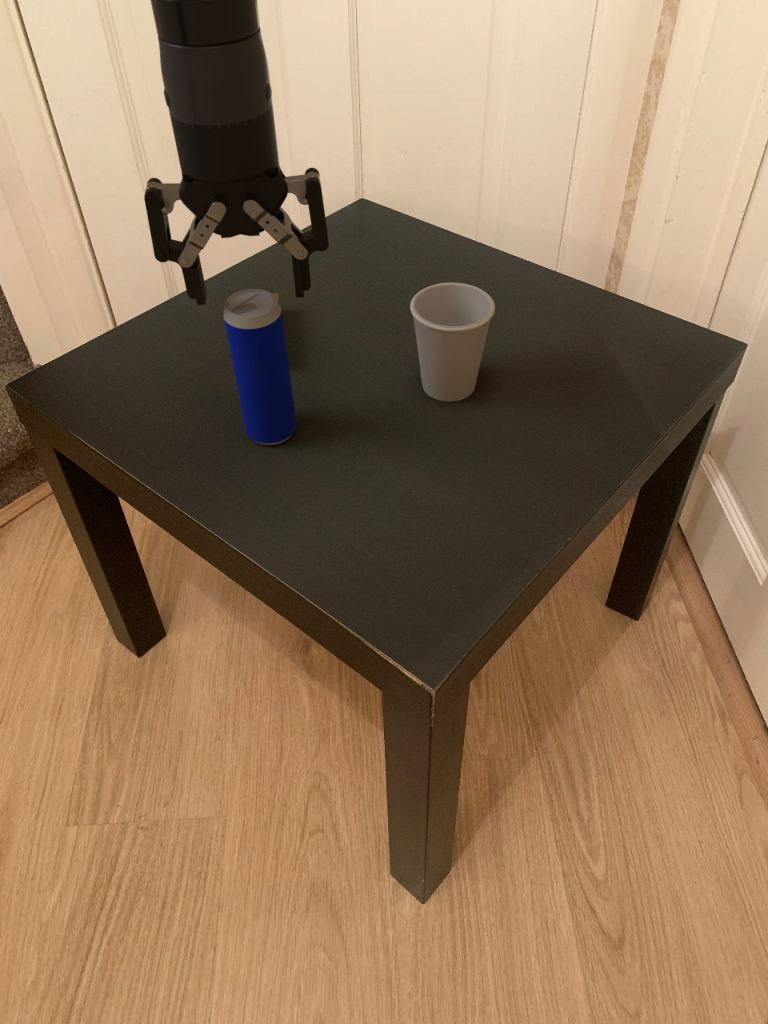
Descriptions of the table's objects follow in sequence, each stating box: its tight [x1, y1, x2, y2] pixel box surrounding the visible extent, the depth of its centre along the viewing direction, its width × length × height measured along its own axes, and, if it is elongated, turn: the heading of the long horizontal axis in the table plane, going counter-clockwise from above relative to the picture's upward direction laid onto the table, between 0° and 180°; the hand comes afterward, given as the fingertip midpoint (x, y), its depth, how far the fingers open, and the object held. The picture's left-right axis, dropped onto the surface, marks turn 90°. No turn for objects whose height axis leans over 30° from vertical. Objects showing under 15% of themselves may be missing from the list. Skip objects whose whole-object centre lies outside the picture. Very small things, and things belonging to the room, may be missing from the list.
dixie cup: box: [409, 282, 496, 402], centre depth 82 cm, size 8×8×10 cm
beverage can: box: [222, 288, 297, 446], centre depth 75 cm, size 5×5×15 cm
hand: (250, 296), depth 70 cm, fingers open, 8 cm apart
